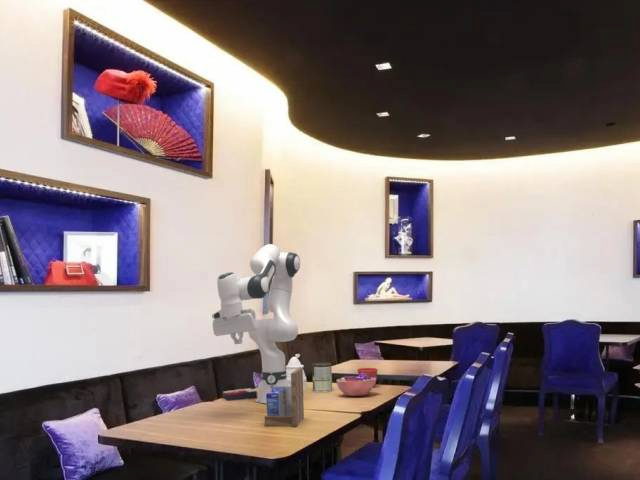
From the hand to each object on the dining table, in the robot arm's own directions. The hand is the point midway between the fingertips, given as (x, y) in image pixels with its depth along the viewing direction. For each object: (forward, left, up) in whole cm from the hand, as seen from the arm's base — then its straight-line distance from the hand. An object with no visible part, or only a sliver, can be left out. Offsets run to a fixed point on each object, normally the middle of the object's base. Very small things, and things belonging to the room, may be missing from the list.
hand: (238, 343), depth 255 cm
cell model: (-53, +45, -30) cm, 75 cm away
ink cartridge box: (+10, +18, -30) cm, 37 cm away
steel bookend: (+3, +20, -30) cm, 36 cm away
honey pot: (-82, +9, -30) cm, 88 cm away
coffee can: (-69, +26, -30) cm, 79 cm away
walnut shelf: (+10, +21, -30) cm, 38 cm away
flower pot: (-81, +49, -30) cm, 99 cm away
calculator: (-49, -14, -31) cm, 59 cm away
